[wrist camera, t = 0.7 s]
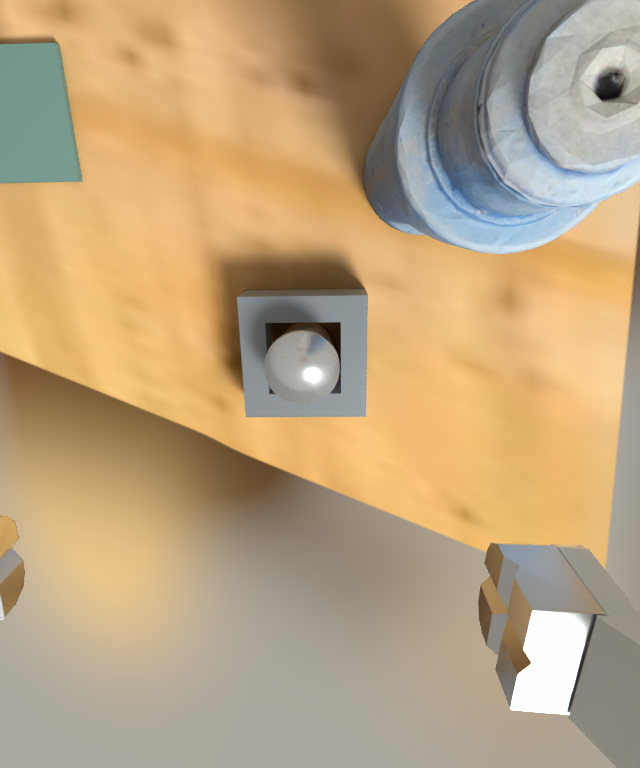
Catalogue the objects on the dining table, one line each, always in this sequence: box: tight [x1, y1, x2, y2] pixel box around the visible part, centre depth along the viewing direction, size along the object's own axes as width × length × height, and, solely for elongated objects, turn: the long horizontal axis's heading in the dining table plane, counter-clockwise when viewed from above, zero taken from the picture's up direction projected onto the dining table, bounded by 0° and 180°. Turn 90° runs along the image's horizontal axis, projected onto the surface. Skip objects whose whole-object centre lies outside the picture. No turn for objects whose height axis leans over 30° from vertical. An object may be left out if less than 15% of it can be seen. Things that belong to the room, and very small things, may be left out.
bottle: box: [364, 0, 640, 254], centre depth 26 cm, size 10×10×30 cm
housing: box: [237, 289, 368, 417], centre depth 44 cm, size 11×11×4 cm
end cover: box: [264, 322, 340, 404], centre depth 42 cm, size 6×6×7 cm
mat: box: [0, 43, 82, 183], centre depth 39 cm, size 10×10×1 cm
